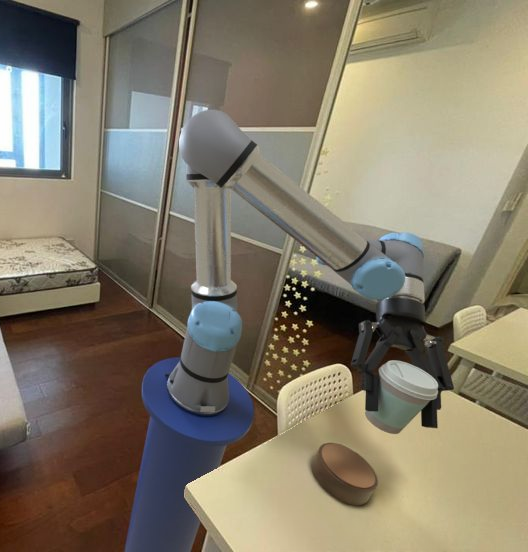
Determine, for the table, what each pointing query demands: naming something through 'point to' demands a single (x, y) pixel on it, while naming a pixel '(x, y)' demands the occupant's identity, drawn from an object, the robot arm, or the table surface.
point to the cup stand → (344, 473)
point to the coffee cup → (401, 395)
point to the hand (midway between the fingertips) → (399, 418)
